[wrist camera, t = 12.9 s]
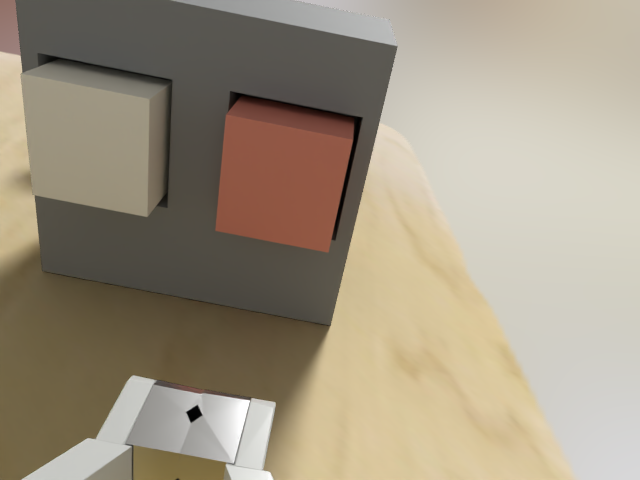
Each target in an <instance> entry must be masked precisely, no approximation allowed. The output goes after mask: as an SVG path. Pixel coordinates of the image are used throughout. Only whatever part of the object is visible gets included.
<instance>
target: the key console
mask: <svg viewBox="0 0 640 480" xmlns="http://www.w3.org/2000/svg"><path fill="white" fill-rule="evenodd" d="M15 1H16V11H17V21H18V31H19V41H20V51H21V62H22V72H26V71H29V70H31V69H34V68H36V67H39V66H42V65H44V64H47V63H49V62H52V61H55V60H57V59H64V60H69V61H74V62H79V63H84V64H89V65H94V66H99V67H104V68H109V69H114V70H120V71H125V72H130V73H135V74H140V75H145V76H150V77H155V78H160V79H165V80H170V81H172V106H171V131H170V157H169V182H168V192H167V193H166V194H165V195H164V197H163V198H162V199H161V200H160V202H159V203H158V204H157V205H156V207H155V208H154V209H153V211H152V212H151V213H150V214H149V216H148V217H145V216H139V215H134V214H129V213H124V212H119V211H113V210H108V209H103V208H98V207H93V206H88V205H82V204H77V203H72V202H67V201H62V200H56V199H51V198H46V197H41V196H36V195H35V203H36V213H37V223H38V233H39V244H40V254H41V264H42V271H45V272H50V273H56V274H61V275H66V276H71V277H77V278H82V279H87V280H93V281H98V282H103V283H108V284H114V285H119V286H124V287H129V288H135V289H140V290H145V291H150V292H156V293H161V294H166V295H171V296H177V297H182V298H187V299H193V300H198V301H203V302H208V303H214V304H219V305H224V306H229V307H235V308H240V309H245V310H250V311H256V312H261V313H266V314H272V315H277V316H282V317H287V318H293V319H298V320H303V321H308V322H314V323H319V324H324V325H329V326H331V321H332V317H333V313H334V309H335V305H336V301H337V296H338V292H339V288H340V284H341V280H342V276H343V271H344V267H345V263H346V259H347V255H348V251H349V246H350V242H351V238H352V234H353V230H354V226H355V221H356V217H357V213H358V209H359V205H360V201H361V196H362V192H363V188H364V184H365V180H366V176H367V171H368V167H369V163H370V159H371V155H372V151H373V146H374V142H375V138H376V134H377V130H378V126H379V121H380V117H381V113H382V109H383V105H384V101H385V96H386V92H387V88H388V84H389V79H390V76H391V71H392V67H393V63H394V58H395V55H396V50H397V43H396V39H395V36H394V33H393V29H392V26H391V23H390V20H388V19H383V18H379V17H374V16H369V15H364V14H359V13H354V12H348V11H344V10H339V9H334V8H329V7H324V6H320V5H314V4H310V3H305V2H300V1H295V0H15ZM241 95H244V96H249V97H254V98H259V99H264V100H269V101H274V102H279V103H284V104H289V105H294V106H299V107H304V108H309V109H314V110H319V111H324V112H329V113H334V114H339V115H344V116H349V117H354V133H353V142H352V147H351V152H350V156H349V161H348V165H347V170H346V175H345V179H344V184H343V188H342V193H341V197H340V202H339V207H338V211H337V216H336V220H335V225H334V229H333V234H332V239H331V243H330V248H329V252H323V251H318V250H312V249H307V248H302V247H297V246H292V245H286V244H281V243H276V242H271V241H266V240H261V239H255V238H250V237H245V236H240V235H235V234H229V233H224V232H219V231H215V229H216V218H217V207H218V196H219V185H220V174H221V163H222V152H223V141H224V130H225V119H226V114H227V113H228V112H229V110H230V109H231V108H232V107H233V105H234V104H235V103H236V102H237V100H238V99H239V98H240V97H241Z"/></svg>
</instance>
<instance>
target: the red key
mask: <svg viewBox="0 0 640 480" xmlns="http://www.w3.org/2000/svg"><path fill="white" fill-rule="evenodd" d="M353 133H354V117H349V116H344V115H339V114H334V113H329V112H324V111H319V110H314V109H309V108H304V107H299V106H294V105H289V104H284V103H279V102H274V101H269V100H264V99H259V98H254V97H249V96H244V95H241V97H240V98H239V99H238V100H237V102H236V103H235V104H234V105H233V107H232V108H231V109H230V110H229V112H228V113H227V114H226V119H225V130H224V141H223V152H222V163H221V174H220V185H219V196H218V207H217V218H216V229H215V231H219V232H224V233H229V234H235V235H240V236H245V237H250V238H255V239H261V240H266V241H271V242H276V243H281V244H286V245H292V246H297V247H302V248H307V249H312V250H318V251H323V252H329V248H330V243H331V239H332V234H333V229H334V225H335V220H336V216H337V211H338V207H339V202H340V197H341V193H342V188H343V184H344V179H345V175H346V170H347V165H348V161H349V156H350V152H351V147H352V142H353Z"/></svg>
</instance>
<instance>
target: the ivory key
mask: <svg viewBox="0 0 640 480" xmlns="http://www.w3.org/2000/svg"><path fill="white" fill-rule="evenodd" d="M21 84H22V94H23V104H24V113H25V123H26V133H27V143H28V153H29V163H30V173H31V183H32V193H33V195H36V196H41V197H46V198H51V199H56V200H62V201H67V202H72V203H77V204H82V205H88V206H93V207H98V208H103V209H108V210H113V211H119V212H124V213H129V214H134V215H139V216H145V217H148V216H149V214H150V213H151V212H152V211H153V209H154V208H155V207H156V205H157V204H158V203H159V202H160V200H161V199H162V198H163V197H164V195H165V194H166V193H167V192H168V182H169V157H170V131H171V106H172V81H170V80H165V79H160V78H155V77H150V76H145V75H140V74H135V73H130V72H125V71H120V70H114V69H109V68H104V67H99V66H94V65H89V64H84V63H79V62H74V61H69V60H64V59H57V60H55V61H52V62H49V63H47V64H44V65H42V66H39V67H36V68H34V69H31V70H29V71H26V72H23V73H21Z"/></svg>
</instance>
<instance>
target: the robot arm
mask: <svg viewBox="0 0 640 480" xmlns="http://www.w3.org/2000/svg"><path fill="white" fill-rule="evenodd" d="M275 407H276V403H275V402H271V401H266V400H260V399H255V398H252V399H251V398H250V397H245V396H239V395H233V394H228V393H222V392H216V391H211V390H202V389H197V388H193V387H188V386H183V385H179V384H174V383H169V382H165V381H160V380H153V379H149V378H144V377H139V376H134V375H133V376H132V377H131V378H130V379H129V380H128V381H127V382H126V384H125V386H124V388H123V389H122V391H121V393H120V395H119V397H118V399H117V400H116V402H115V404H114V406H113V408H112V409H111V411H110V413H109V415H108V417H107V419H106V420H105V422H104V424H103V426H102V428H101V429H100V431H99V433H98V435H97V437H96V439H91V438H87V439H85V440H84V441H82V442H80V443H79V444H77V445H76V446H74V447H72V448H71V449H69V450H68V451H66V452H64V453H63V454H61V455H60V456H58V457H56V458H55V459H53V460H52V461H50V462H48V463H47V464H45V465H44V466H42V467H40V468H39V469H37V470H36V471H34V472H32V473H31V474H29V475H28V476H26V477H24V478H23V479H21V480H274V479H273V477H272V475H271V472H268V471H264V470H263V468H264V463H265V458H266V453H267V448H268V443H269V438H270V433H271V427H272V422H273V417H274V412H275Z"/></svg>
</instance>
